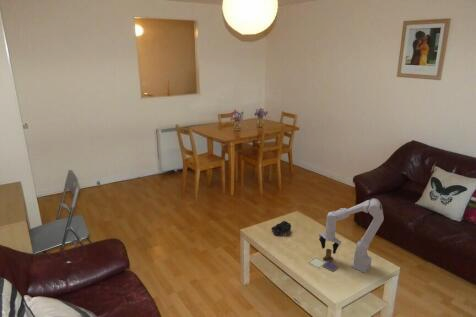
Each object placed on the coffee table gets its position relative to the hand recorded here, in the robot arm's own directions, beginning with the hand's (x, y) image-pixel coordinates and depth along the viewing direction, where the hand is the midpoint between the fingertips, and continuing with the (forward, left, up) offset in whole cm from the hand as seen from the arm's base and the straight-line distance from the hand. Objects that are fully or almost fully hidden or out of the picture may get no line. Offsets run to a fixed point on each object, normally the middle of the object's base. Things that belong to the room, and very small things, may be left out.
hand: (328, 250), depth 211 cm
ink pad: (-5, +5, -7) cm, 10 cm away
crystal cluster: (+42, -5, -7) cm, 43 cm away
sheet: (+3, +7, -7) cm, 11 cm away
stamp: (0, 0, -7) cm, 7 cm away
